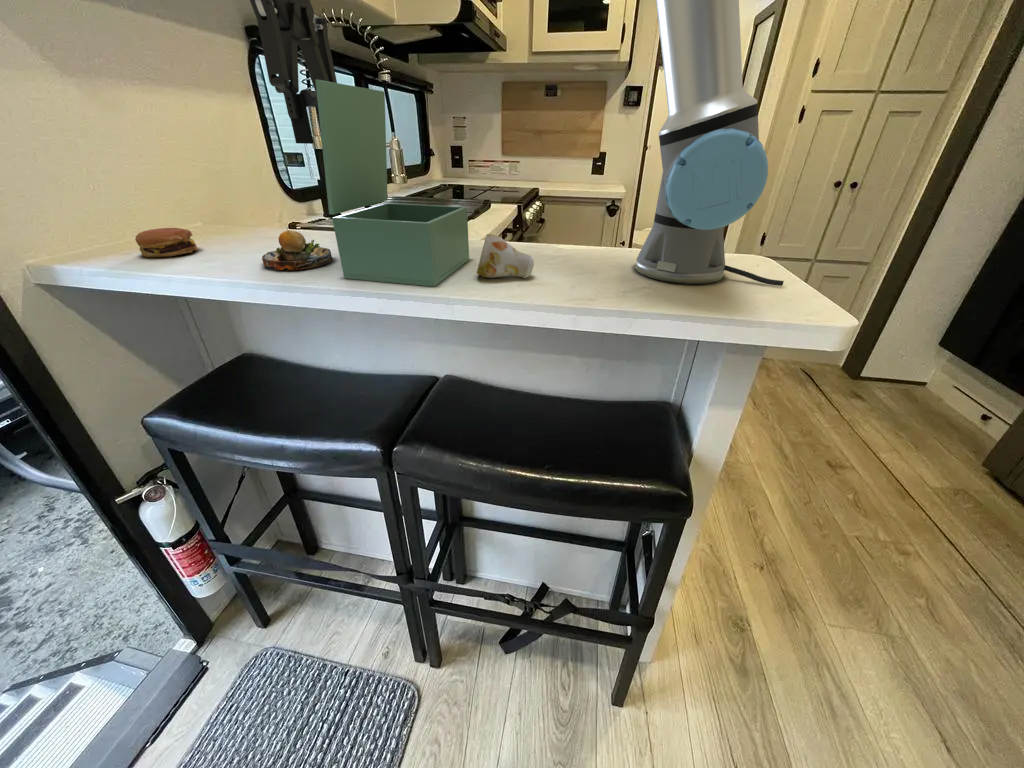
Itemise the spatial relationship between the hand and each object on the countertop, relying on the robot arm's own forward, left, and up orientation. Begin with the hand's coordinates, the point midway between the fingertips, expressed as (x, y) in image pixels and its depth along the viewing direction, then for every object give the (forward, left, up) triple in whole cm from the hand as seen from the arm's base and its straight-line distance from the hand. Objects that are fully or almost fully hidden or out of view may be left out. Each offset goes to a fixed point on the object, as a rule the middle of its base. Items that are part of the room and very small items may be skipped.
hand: (318, 142), depth 69 cm
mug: (-32, 0, -20) cm, 38 cm away
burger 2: (+8, +3, -20) cm, 22 cm away
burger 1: (+37, +4, -20) cm, 42 cm away
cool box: (-14, 0, -20) cm, 25 cm away
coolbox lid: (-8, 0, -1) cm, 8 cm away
